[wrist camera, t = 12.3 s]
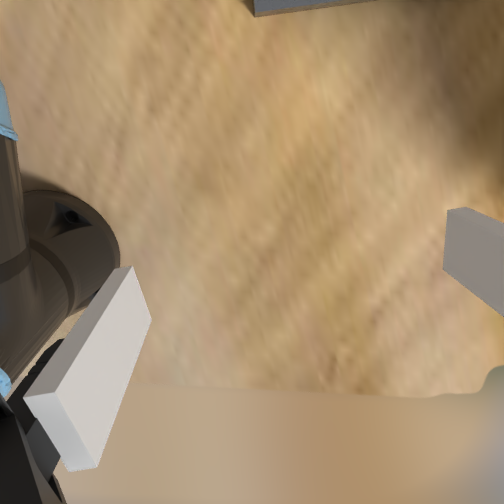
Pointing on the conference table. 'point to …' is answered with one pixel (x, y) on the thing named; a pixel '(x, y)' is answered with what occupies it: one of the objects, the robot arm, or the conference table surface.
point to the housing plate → (295, 5)
